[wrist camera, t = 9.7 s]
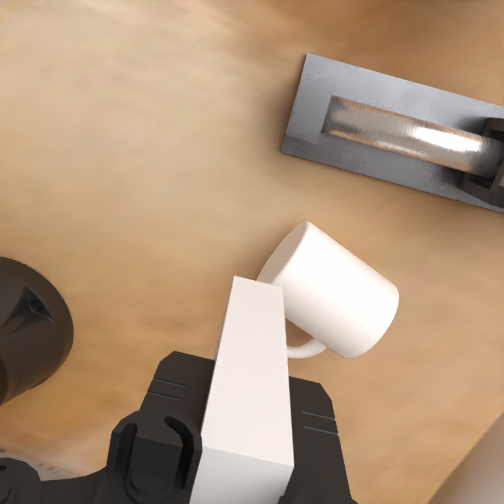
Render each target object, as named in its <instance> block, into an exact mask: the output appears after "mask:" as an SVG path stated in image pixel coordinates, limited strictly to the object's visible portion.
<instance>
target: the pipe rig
mask: <svg viewBox="0 0 504 504" xmlns="http://www.w3.org/2000/svg"><path fill="white" fill-rule="evenodd" d="M489 117H494V118H504V107H501V106H498V105H494V104H491V103H487V102H483V101H480V100H476V99H473V98H469V97H465V96H462V95H458V94H455V93H451V92H447V91H444V90H440V89H436V88H433V87H429V86H426V85H422V84H418V83H415V82H411V81H408V80H404V79H400V78H397V77H393V76H389V75H386V74H382V73H379V72H375V71H371V70H368V69H364V68H361V67H357V66H353V65H350V64H346V63H343V62H339V61H335V60H332V59H328V58H324V57H321V56H317V55H314V54H310V53H307V56H306V60H305V63H304V67H303V70H302V74H301V78H300V81H299V85H298V89H297V92H296V96H295V99H294V103H293V107H292V110H291V114H290V118H289V121H288V125H287V128H286V132H285V136H284V139H283V143H282V147H281V150H280V152H283V153H287V154H290V155H294V156H297V157H301V158H305V159H308V160H312V161H316V162H319V163H323V164H327V165H330V166H334V167H338V168H341V169H345V170H349V171H352V172H356V173H360V174H363V175H367V176H371V177H374V178H378V179H381V180H385V181H389V182H392V183H396V184H400V185H403V186H407V187H411V188H414V189H418V190H422V191H425V192H429V193H433V194H436V195H440V196H444V197H447V198H451V199H455V200H458V201H462V202H465V203H469V204H473V205H476V206H480V207H484V208H487V209H491V210H495V211H498V212H502V213H504V209H503V208H499V207H496V206H492V205H489V204H487V203H485V202H483V201H481V200H479V199H477V198H476V197H474V196H472V195H470V194H468V193H466V192H464V191H462V190H460V189H458V187H459V185H460V182H461V180H462V178H463V176H464V173H465V172H468V173H471V174H475V175H479V176H482V177H486V178H488V180H489V181H490V182H491V183H493V182H494V180H495V178H496V175H497V173H498V171H499V169H500V167H501V165H502V163H503V161H504V142H502V141H499V140H495V139H491V138H488V137H484V136H481V135H482V132H483V130H484V128H485V126H486V123H487V121H488V119H489Z"/></svg>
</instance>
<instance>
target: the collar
mask: <svg viewBox="0 0 504 504" xmlns="http://www.w3.org/2000/svg"><path fill="white" fill-rule="evenodd" d="M481 136H484V137H488V138H491V139H495V140H499V141H502V142H504V118H494V117H489V119H488V121H487V123H486V126H485V128H484V130H483V132H482V135H481ZM458 189H460V190H462V191H464V192H466V193H468V194H470V195H472V196H474V197H476V198H477V199H479V200H481V201H483V202H485V203H487V204H489V205H492V206H496V207H499V208H503V209H504V161H503V163H502V165H501V167H500V169H499V171H498V173H497V175H496V178H495V180H494V182H493V183H491V182H490V181H489V180H488V178H486V177H482V176H479V175H475V174H471V173H468V172H465V173H464V176H463V178H462V180H461V182H460V185H459V187H458Z"/></svg>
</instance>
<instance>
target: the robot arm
mask: <svg viewBox="0 0 504 504" xmlns="http://www.w3.org/2000/svg"><path fill="white" fill-rule="evenodd" d="M72 342H73V324H72V319H71V316H70V313H69V310H68V308H67V306H66V304H65V302H64V300H63V298H62V297H61V295H60V294H59V293H58V291H57V290H56V289H55V288H54V286H53V285H52V284H51V283H50V282H49V281H48V280H47V279H45V278H44V277H43V276H42V275H41V274H39V273H38V272H36V271H35V270H33V269H32V268H30V267H28V266H26V265H24V264H22V263H20V262H17V261H15V260H12V259H8V258H4V257H0V406H1V405H2V404H4V403H5V402H7V401H9V400H11V399H13V398H14V397H16V396H18V395H20V394H21V393H23V392H25V391H26V390H29V389H31V388H33V387H35V386H38V385H39V384H41V383H43V382H44V381H46V380H47V379H48V378H49V377H50V376H52V375H53V373H54V372H55V371H56V370H57V369H58V368H59V367H60V365H61V364H62V363H63V362H64V361H65V359H66V358H67V356H68V354H69V352H70V350H71V346H72ZM334 419H335V416H334V411H333V406H332V401H331V399H330V397H329V396H328V394H327V393H326V392H325V390H324V389H323V387H322V386H321V384H320V383H316V382H312V381H308V380H303V379H299V378H295V377H290V376H288V363H287V347H286V331H285V316H284V300H283V287H279V286H275V285H271V284H267V283H262V282H258V281H254V280H250V279H246V278H242V277H238V276H234V279H233V283H232V287H231V291H230V295H229V299H228V303H227V307H226V311H225V315H224V319H223V323H222V327H221V331H220V335H219V339H218V343H217V347H216V351H215V355H214V360H211V359H207V358H202V357H198V356H194V355H189V354H185V353H181V352H177V351H173V352H172V353H171V354H170V355H168V356H167V357H166V358H164V359H163V360H162V361H160V363H159V365H158V368H157V370H156V372H155V375H154V377H153V380H152V382H151V384H150V386H149V389H148V391H147V394H146V396H145V398H144V400H143V403H142V405H141V407H140V410H139V411H135V412H134V413H132V414H130V415H128V416H127V417H125V418H123V419H121V421H120V422H119V423H118V424H117V426H116V427H115V428H114V429H113V431H112V434H111V440H110V446H109V453H108V459H107V465H106V467H104V468H103V469H101V470H99V471H97V472H95V473H92V474H89V475H87V476H83V477H78V478H72V479H61V480H49V481H41V480H40V478H39V475H38V472H37V471H36V470H35V469H33V468H32V467H31V466H29V465H28V464H27V463H26V462H24V461H20V460H16V459H12V458H0V504H358V503H357V502H356V501H354V500H353V499H352V498H351V495H350V490H349V485H348V480H347V475H346V470H345V465H344V460H343V455H342V450H341V445H340V440H339V436H337V434H338V430H337V425H336V421H334Z"/></svg>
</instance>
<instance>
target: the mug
mask: <svg viewBox="0 0 504 504" xmlns="http://www.w3.org/2000/svg"><path fill="white" fill-rule="evenodd" d="M256 281H258V282H262V283H267V284H271V285H275V286H279V287H283V300H284V316H285V318H286V319H288V320H289V321H291V322H292V323H293V324H295V325H296V326H298V327H299V328H301V329H302V330H304V331H305V332H306V333H308V334H309V335H311V336H312V337H314V338H313V339H311V340H310V341H309V342H307V343H305V344H303V345H301V346H297V347H290V346H286V347H287V358H308V357H311V356H314V355H317V354H319V353H321V352H322V351H324V350H325V349H326V348H329V349H331V350H332V351H334V352H335V353H336V354H338V355H339V356H341V357H343V358H354V357H357V356H359V355H361V354H363V353H365V352H366V351H368V350H369V349H370V348H371V347H373V346H374V345H375V344H376V343H377V342H378V341H379V339H380V338H381V337H382V336H383V335H384V333H385V332H386V330H387V329H388V327H389V326H390V324H391V322H392V320H393V318H394V316H395V313H396V311H397V307H398V302H399V294H398V290H397V288H396V286H395V285H394V284H392V283H391V282H390V281H388V280H387V279H386V278H384V277H383V276H381V275H380V274H379V273H377V272H376V271H375V270H373V269H372V268H371V267H369V266H368V265H367V264H365V263H364V262H363V261H361V260H360V259H359V258H357V257H356V256H355V255H353V254H352V253H351V252H349V251H348V250H347V249H345V248H344V247H343V246H341V245H340V244H339V243H337V242H336V241H335V240H333V239H332V238H331V237H329V236H328V235H326V234H325V233H324V232H322V231H321V230H320V229H318V228H317V227H316V226H314V225H313V224H312V223H310V222H309V221H304V222H302V223H300V224H298V225H297V226H296V227H295V228H294V229H292V230H291V231H290V232H289V233H288V234H287V236H286V237H285V238H284V239H283V240H282V241H281V242H280V244H279V245H278V246H277V248H276V249H275V250H274V252H273V253H272V254H271V256H270V257H269V259H268V260H267V262H266V263H265V265H264V267H263V268H262V270H261V272H260V274H259V275H258V278H257V280H256Z"/></svg>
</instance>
